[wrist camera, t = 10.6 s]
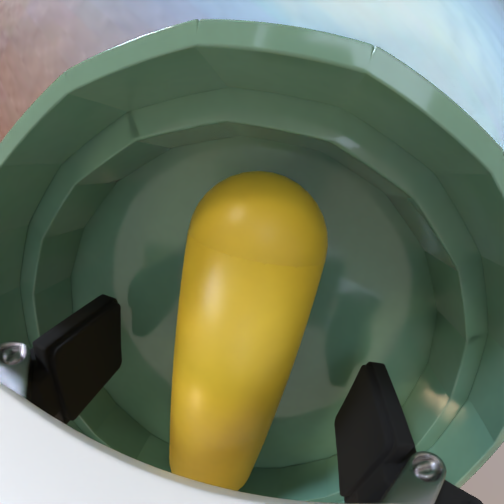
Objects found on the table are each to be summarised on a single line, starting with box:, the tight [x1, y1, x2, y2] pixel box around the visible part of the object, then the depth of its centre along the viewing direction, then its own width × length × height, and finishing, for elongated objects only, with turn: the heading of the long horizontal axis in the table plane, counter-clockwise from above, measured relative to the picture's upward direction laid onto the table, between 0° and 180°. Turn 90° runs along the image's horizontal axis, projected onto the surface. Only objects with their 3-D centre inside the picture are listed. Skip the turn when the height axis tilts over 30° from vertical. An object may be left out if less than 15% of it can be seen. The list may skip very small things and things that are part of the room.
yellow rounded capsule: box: [169, 171, 328, 491], centre depth 9 cm, size 14×4×4 cm, turn 169°
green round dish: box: [0, 19, 504, 503], centre depth 9 cm, size 18×18×6 cm
